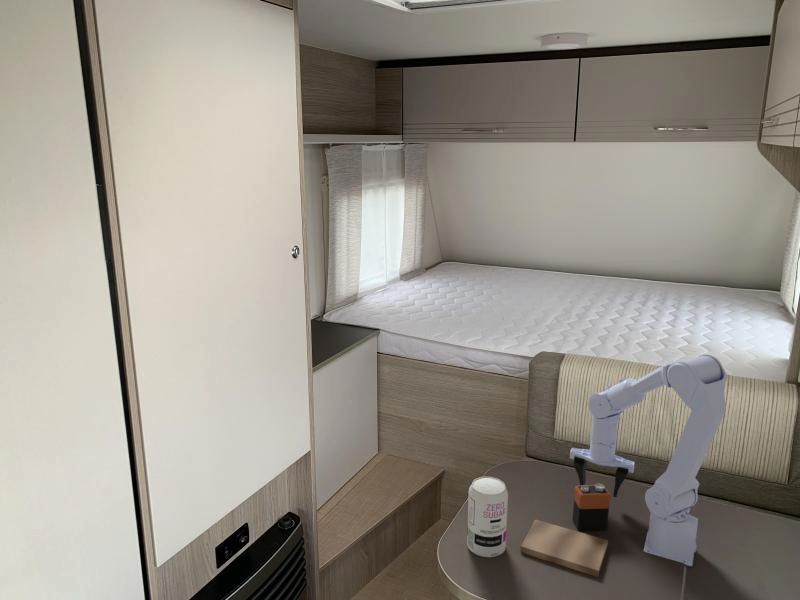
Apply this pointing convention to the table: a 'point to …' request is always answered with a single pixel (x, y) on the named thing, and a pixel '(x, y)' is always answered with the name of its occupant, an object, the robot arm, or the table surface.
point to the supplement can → (487, 517)
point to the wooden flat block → (565, 547)
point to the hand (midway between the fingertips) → (598, 490)
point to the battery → (591, 507)
